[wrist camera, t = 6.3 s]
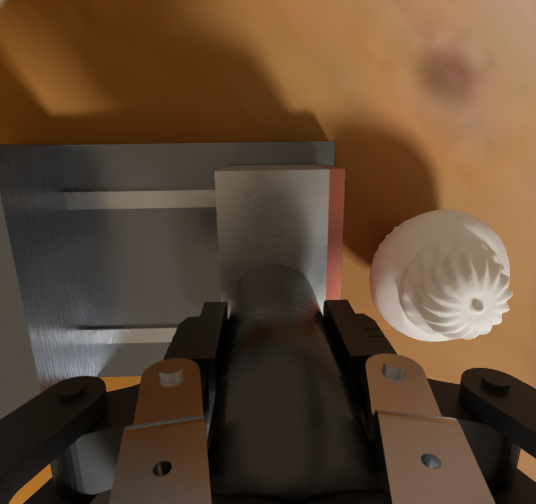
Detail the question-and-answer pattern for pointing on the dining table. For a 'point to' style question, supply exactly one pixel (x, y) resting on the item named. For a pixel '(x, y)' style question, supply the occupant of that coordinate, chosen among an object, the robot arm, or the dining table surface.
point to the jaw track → (110, 252)
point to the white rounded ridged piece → (441, 277)
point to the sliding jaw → (283, 341)
